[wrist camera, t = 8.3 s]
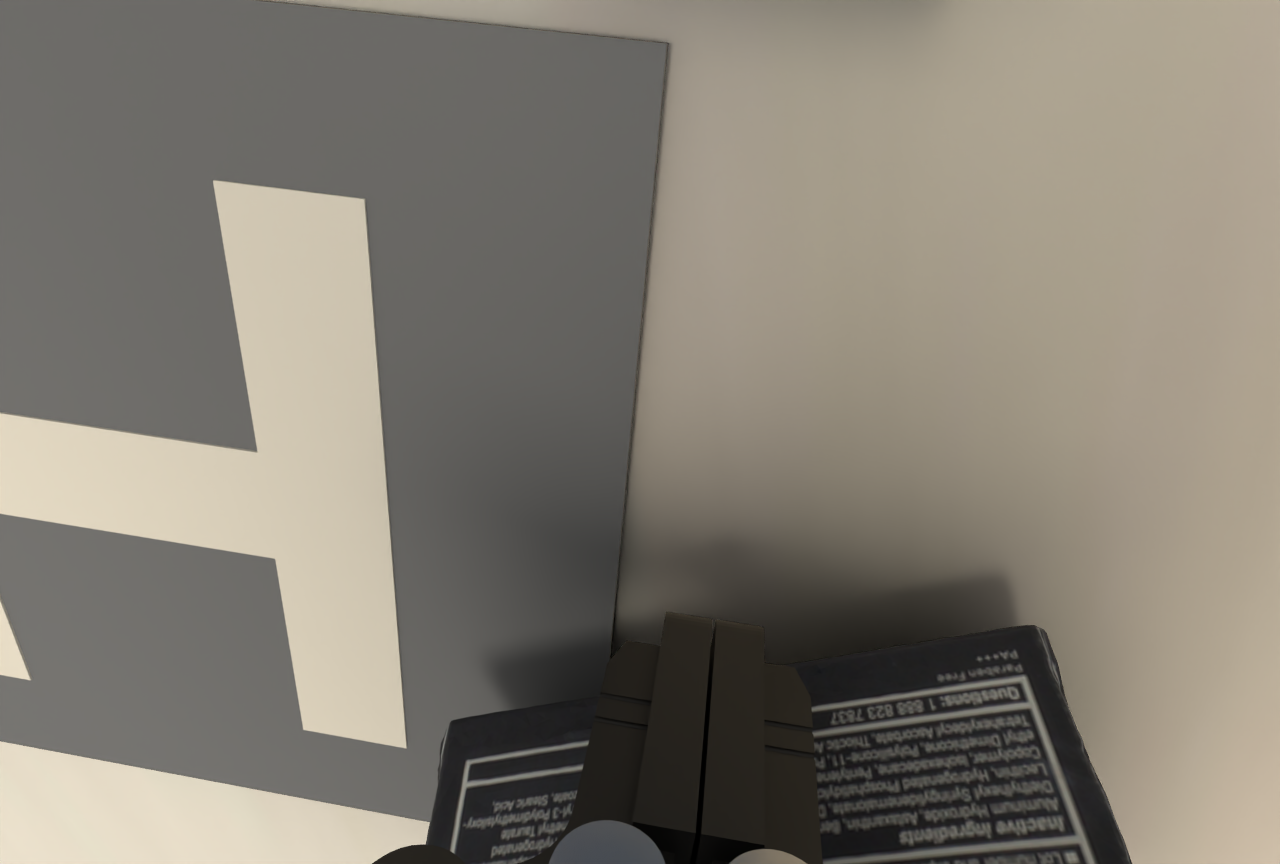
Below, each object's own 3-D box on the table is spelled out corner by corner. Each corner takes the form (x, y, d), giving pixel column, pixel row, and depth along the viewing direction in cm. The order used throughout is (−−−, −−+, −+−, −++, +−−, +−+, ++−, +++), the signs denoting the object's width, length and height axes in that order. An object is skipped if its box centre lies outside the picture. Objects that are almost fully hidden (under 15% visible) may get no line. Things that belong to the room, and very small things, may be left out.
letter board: (-624, -92, 12) (-650, -94, 12) (668, 42, 11) (666, 43, 10) (-177, 700, 20) (-188, 707, 20) (592, 844, 19) (590, 854, 18)
